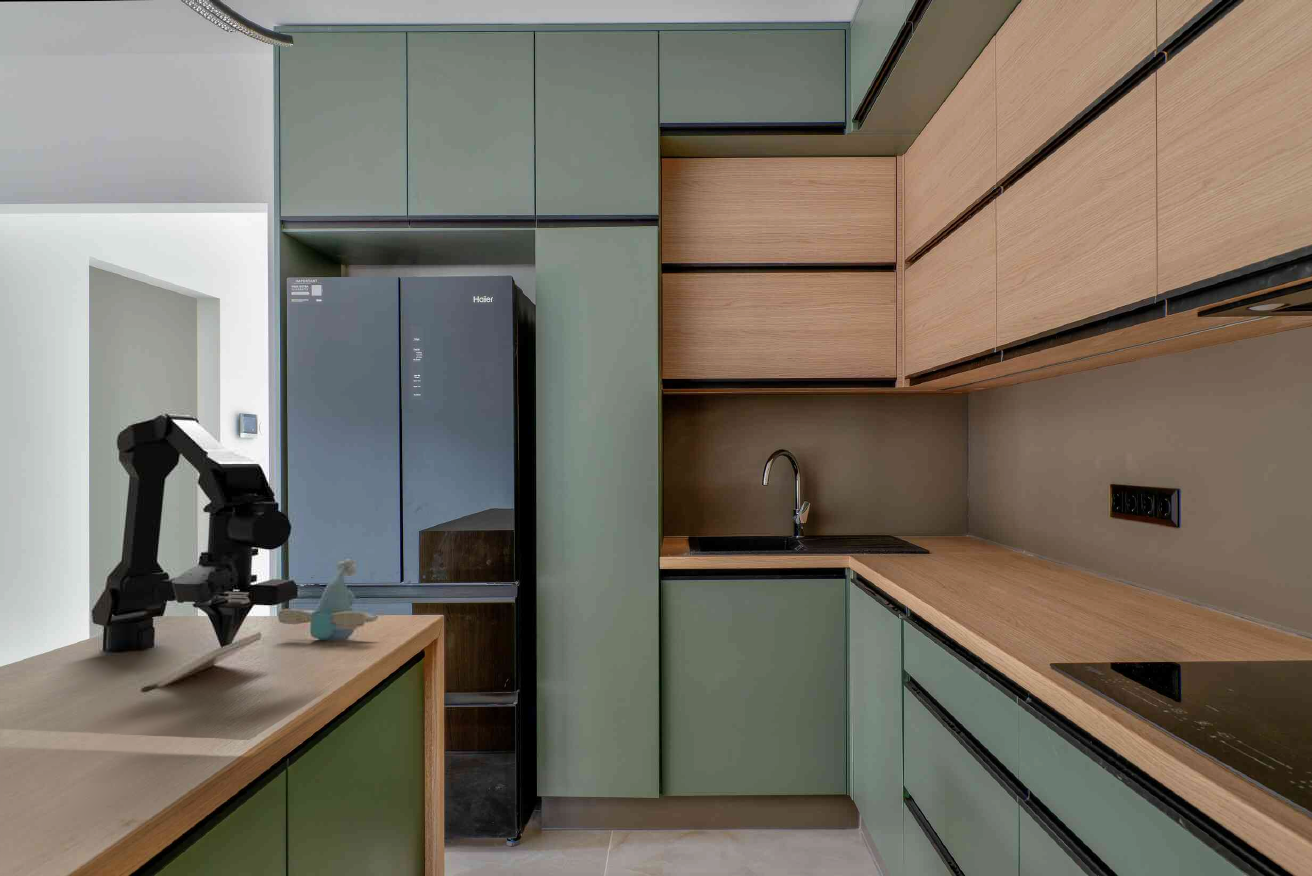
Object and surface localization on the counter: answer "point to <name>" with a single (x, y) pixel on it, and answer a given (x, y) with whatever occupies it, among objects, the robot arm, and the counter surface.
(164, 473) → the robot arm
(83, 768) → the counter surface
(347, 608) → the toy figure
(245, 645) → the tile
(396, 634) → the counter surface
